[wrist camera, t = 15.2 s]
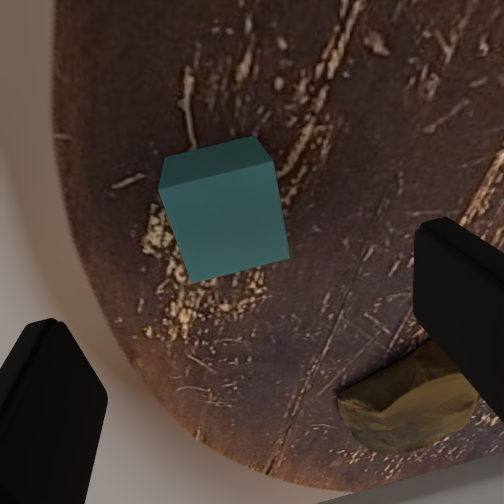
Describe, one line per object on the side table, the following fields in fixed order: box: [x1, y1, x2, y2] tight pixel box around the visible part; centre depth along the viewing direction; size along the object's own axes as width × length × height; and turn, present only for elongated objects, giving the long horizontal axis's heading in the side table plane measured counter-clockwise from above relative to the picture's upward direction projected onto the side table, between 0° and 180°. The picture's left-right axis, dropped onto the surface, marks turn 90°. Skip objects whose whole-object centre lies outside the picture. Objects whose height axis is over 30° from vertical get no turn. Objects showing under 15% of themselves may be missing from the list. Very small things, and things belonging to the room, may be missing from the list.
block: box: [159, 135, 290, 283], centre depth 15 cm, size 4×4×4 cm
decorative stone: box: [337, 339, 480, 455], centre depth 25 cm, size 10×9×4 cm
